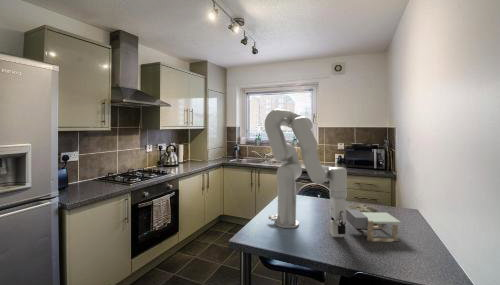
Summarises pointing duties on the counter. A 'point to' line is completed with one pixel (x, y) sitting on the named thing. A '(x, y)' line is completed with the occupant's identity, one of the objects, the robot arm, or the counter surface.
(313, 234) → the counter surface
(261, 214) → the counter surface
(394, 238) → the frame
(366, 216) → the trapdoor
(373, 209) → the geode
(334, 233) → the cube
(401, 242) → the counter surface
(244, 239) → the counter surface
